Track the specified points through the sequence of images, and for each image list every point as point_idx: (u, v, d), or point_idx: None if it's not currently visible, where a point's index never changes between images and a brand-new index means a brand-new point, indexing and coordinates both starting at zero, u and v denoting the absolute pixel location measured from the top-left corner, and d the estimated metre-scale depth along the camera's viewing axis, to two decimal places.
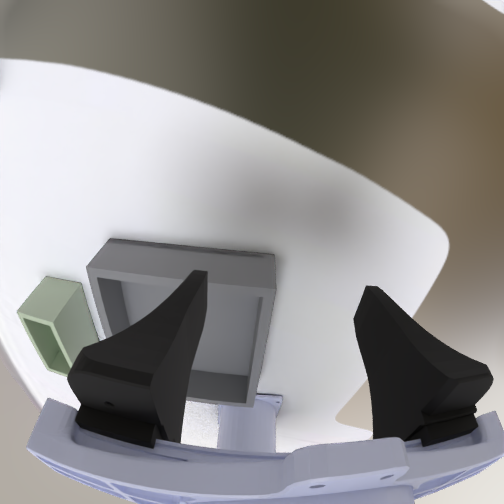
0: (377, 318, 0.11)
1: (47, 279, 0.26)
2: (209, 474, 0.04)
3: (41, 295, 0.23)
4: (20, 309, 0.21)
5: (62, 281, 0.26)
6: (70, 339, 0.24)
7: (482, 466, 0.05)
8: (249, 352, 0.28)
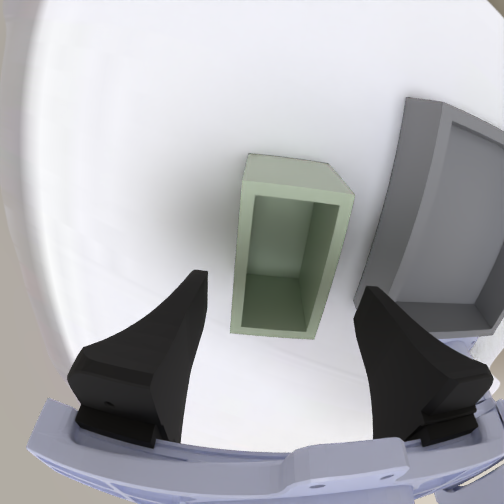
0: (377, 318, 0.11)
1: (256, 155, 0.17)
2: (209, 474, 0.04)
3: (275, 167, 0.15)
4: (248, 178, 0.13)
5: (292, 159, 0.17)
6: None
7: (482, 466, 0.05)
8: (491, 267, 0.20)
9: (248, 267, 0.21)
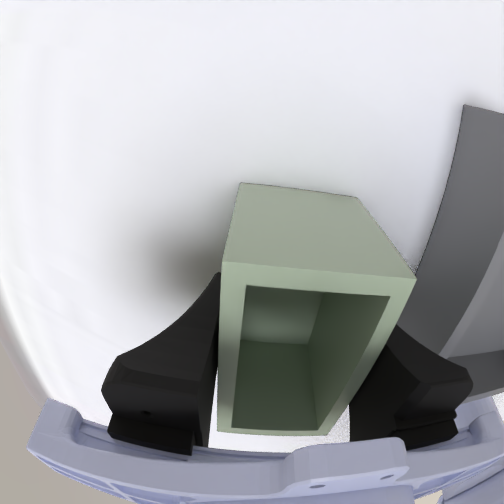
0: None
1: (252, 187, 0.12)
2: (209, 474, 0.04)
3: (281, 216, 0.09)
4: (235, 253, 0.07)
5: (305, 192, 0.12)
6: None
7: (482, 466, 0.05)
8: None
9: (242, 333, 0.15)
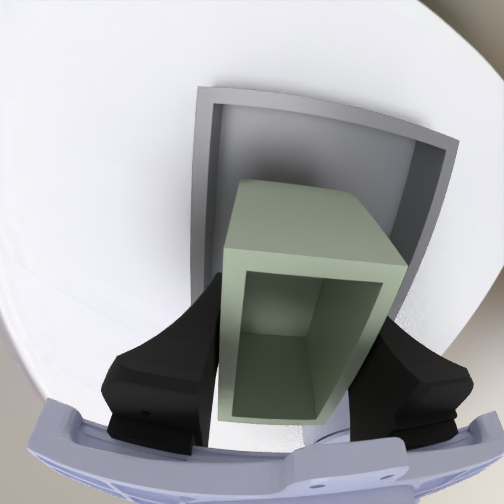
0: None
1: (252, 182, 0.12)
2: (209, 474, 0.04)
3: (279, 208, 0.10)
4: (236, 240, 0.08)
5: (303, 187, 0.12)
6: None
7: (482, 466, 0.05)
8: None
9: (242, 325, 0.16)
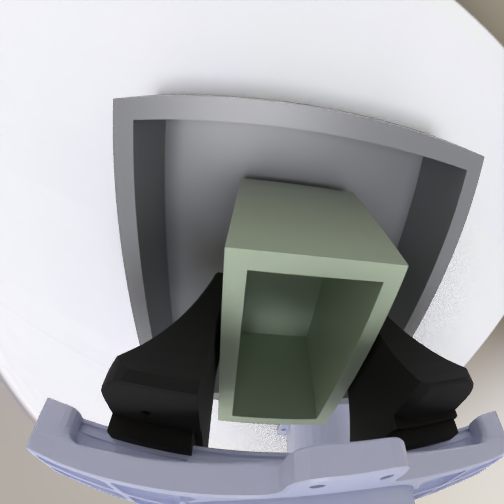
0: None
1: (252, 181, 0.12)
2: (209, 474, 0.04)
3: (279, 208, 0.10)
4: (237, 240, 0.08)
5: (303, 187, 0.12)
6: None
7: (482, 466, 0.05)
8: None
9: (242, 324, 0.16)
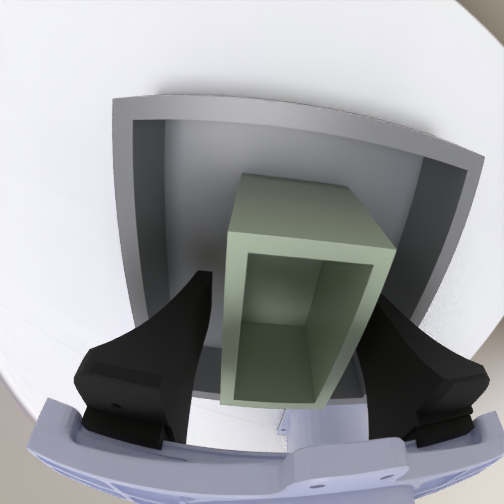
0: (373, 318, 0.11)
1: (252, 176, 0.13)
2: (209, 474, 0.04)
3: (278, 199, 0.11)
4: (238, 225, 0.08)
5: (300, 181, 0.13)
6: None
7: (482, 466, 0.05)
8: None
9: (243, 314, 0.17)
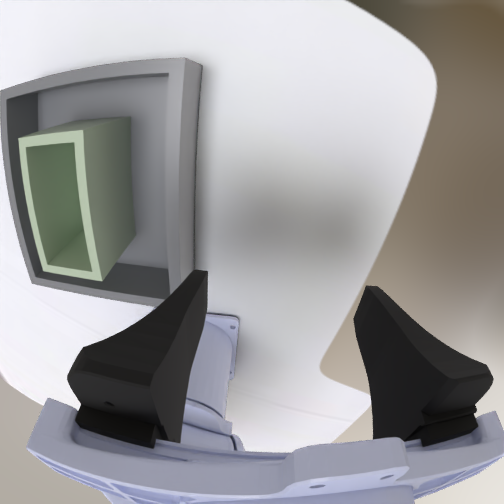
0: (377, 318, 0.11)
1: (74, 121, 0.17)
2: (209, 474, 0.04)
3: (64, 126, 0.14)
4: (25, 136, 0.12)
5: None
6: (99, 187, 0.15)
7: (482, 466, 0.05)
8: None
9: None
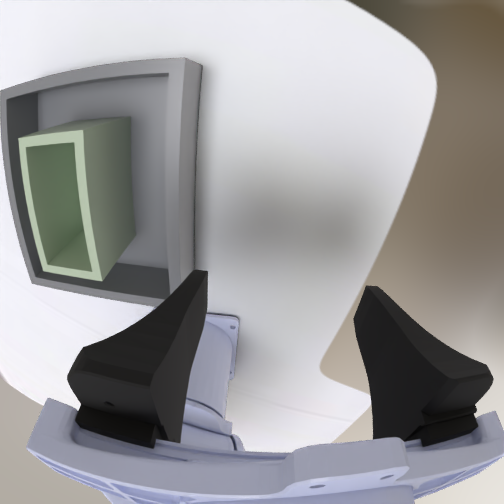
0: (377, 318, 0.11)
1: (74, 121, 0.17)
2: (209, 474, 0.04)
3: (64, 126, 0.14)
4: (25, 136, 0.12)
5: None
6: (99, 187, 0.15)
7: (482, 466, 0.05)
8: None
9: None
